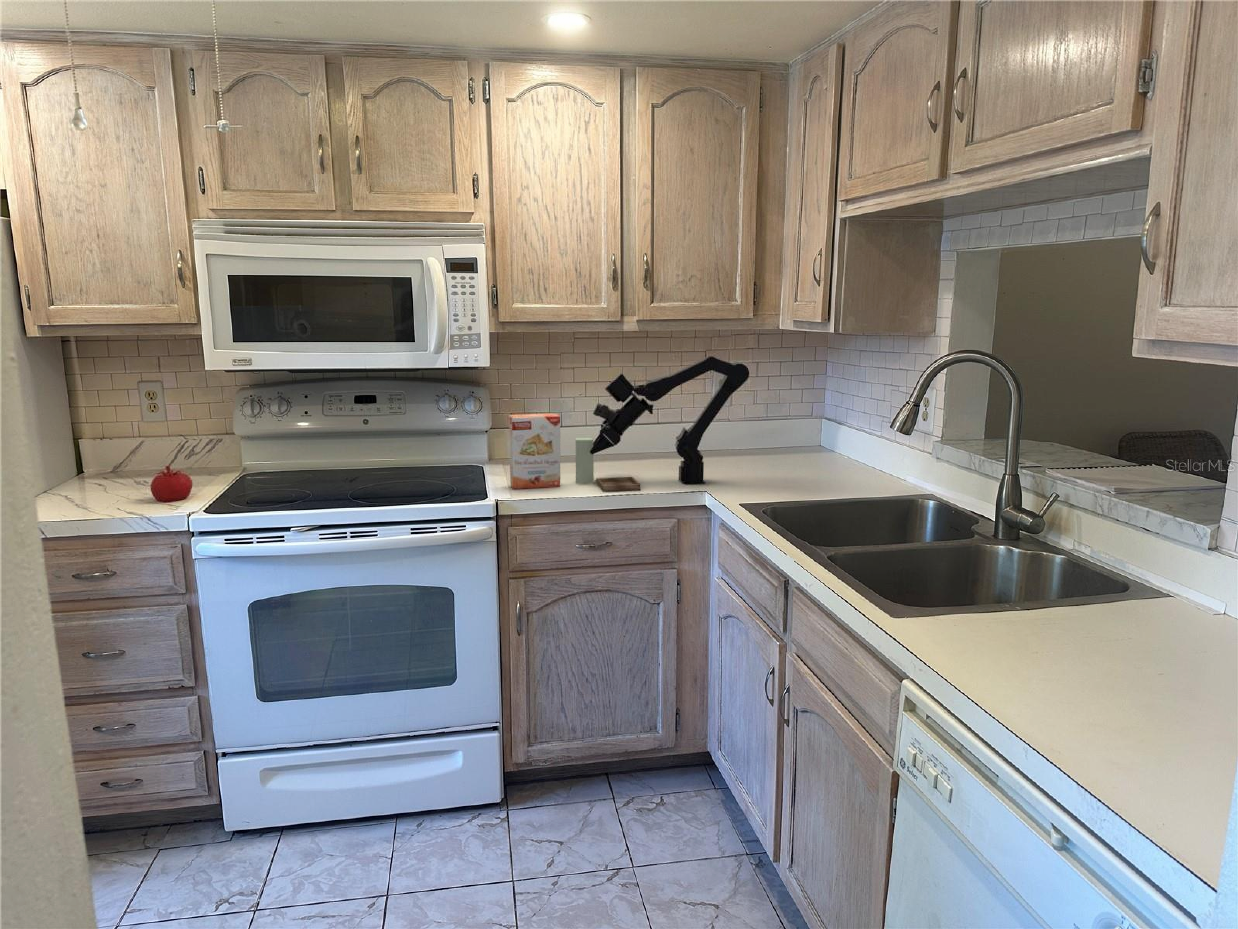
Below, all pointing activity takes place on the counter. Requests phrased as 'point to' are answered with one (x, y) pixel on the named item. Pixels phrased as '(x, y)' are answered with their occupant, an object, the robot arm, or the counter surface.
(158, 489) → the red tomato
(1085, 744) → the counter surface
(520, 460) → the cracker box
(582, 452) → the sage wooden block
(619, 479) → the walnut tray
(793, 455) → the counter surface
